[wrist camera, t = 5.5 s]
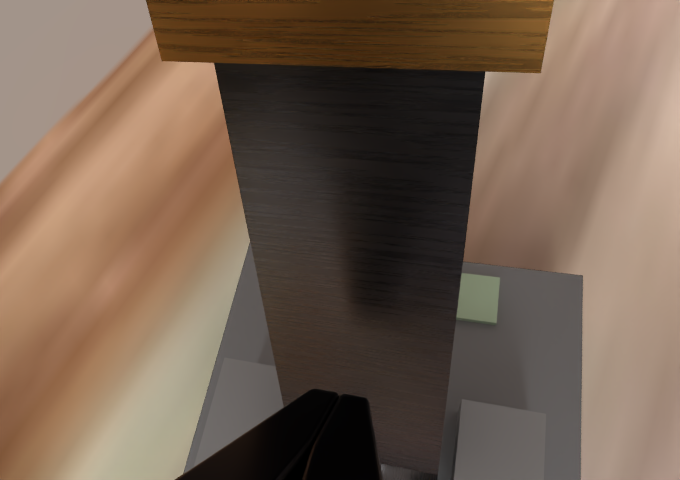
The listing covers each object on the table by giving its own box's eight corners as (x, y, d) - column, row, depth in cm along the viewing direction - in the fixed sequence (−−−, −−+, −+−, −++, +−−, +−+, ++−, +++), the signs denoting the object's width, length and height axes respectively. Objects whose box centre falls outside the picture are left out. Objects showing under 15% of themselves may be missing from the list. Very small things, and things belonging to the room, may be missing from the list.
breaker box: (543, 724, 12) (611, 878, 7) (193, 617, 14) (74, 684, 9) (555, 312, 16) (606, 242, 11) (280, 276, 18) (226, 204, 13)
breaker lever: (457, 526, 10) (591, -208, 4) (273, 483, 11) (102, -168, 5) (462, 450, 12) (569, -198, 5) (297, 417, 13) (191, -167, 6)
